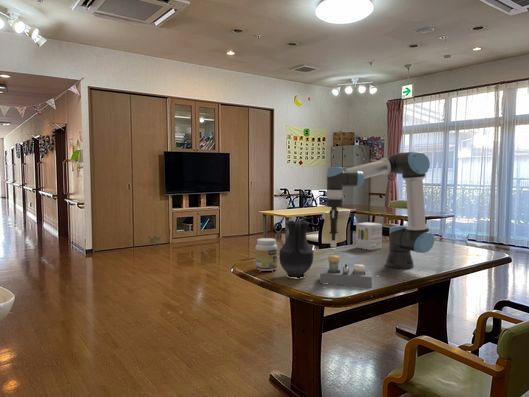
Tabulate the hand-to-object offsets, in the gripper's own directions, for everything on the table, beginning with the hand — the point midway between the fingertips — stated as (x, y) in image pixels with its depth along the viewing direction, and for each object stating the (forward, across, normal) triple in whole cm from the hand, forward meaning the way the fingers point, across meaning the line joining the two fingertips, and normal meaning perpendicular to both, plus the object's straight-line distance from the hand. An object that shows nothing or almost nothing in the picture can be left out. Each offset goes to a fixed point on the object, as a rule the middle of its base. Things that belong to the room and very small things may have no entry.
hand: (333, 246), depth 193 cm
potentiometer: (+12, +2, +6) cm, 14 cm away
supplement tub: (+18, -15, -38) cm, 44 cm away
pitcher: (+18, -2, -19) cm, 26 cm away
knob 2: (+16, 0, +12) cm, 20 cm away
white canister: (+17, -95, +17) cm, 98 cm away
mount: (+17, 0, +6) cm, 19 cm away
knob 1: (+12, 0, 0) cm, 12 cm away
